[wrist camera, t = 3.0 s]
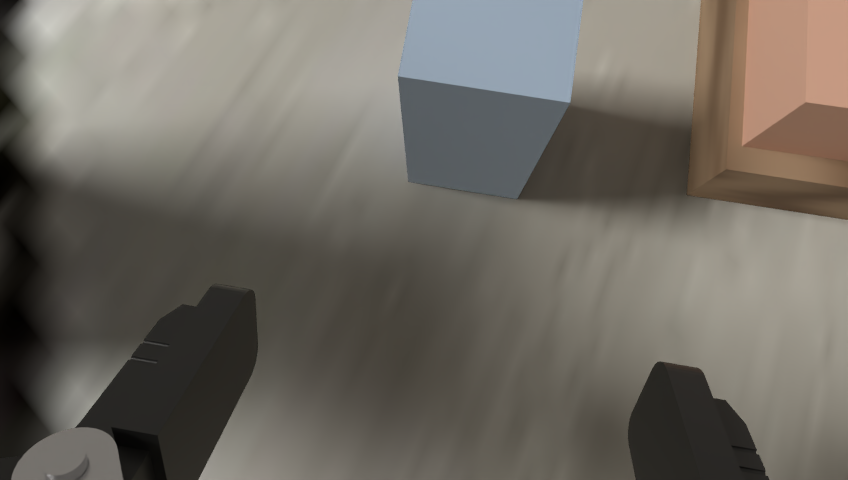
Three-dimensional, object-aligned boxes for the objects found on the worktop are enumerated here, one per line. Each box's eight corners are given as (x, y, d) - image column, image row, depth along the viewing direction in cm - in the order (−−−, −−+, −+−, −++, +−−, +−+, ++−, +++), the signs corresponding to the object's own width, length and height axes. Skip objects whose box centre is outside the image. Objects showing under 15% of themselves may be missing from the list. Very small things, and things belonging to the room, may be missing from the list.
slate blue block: (408, 181, 27) (397, 76, 17) (426, 81, 28) (426, -72, 18) (517, 199, 26) (570, 102, 17) (531, 98, 27) (589, -49, 18)
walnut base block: (682, 197, 27) (726, 169, 23) (696, 5, 29) (739, -51, 25) (903, 231, 26) (986, 208, 23) (902, 34, 29) (978, -18, 25)
